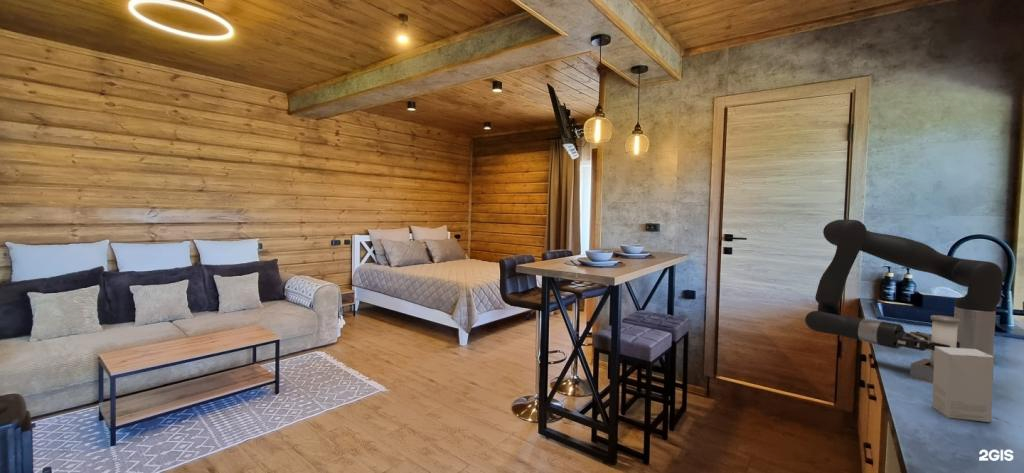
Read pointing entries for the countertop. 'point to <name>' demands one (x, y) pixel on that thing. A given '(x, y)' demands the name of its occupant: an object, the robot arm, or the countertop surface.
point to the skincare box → (963, 383)
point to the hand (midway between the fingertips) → (954, 347)
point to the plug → (943, 332)
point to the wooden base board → (922, 371)
